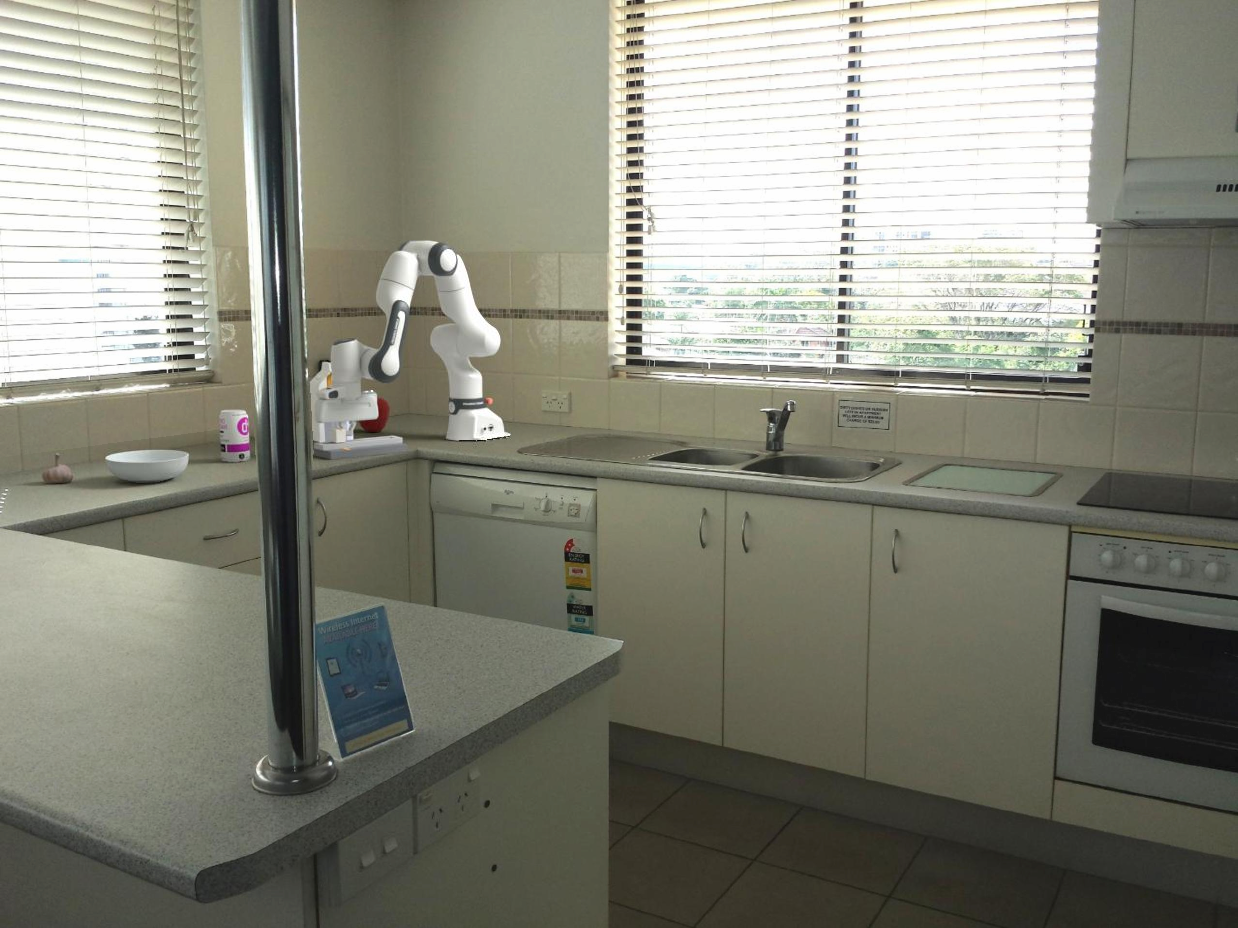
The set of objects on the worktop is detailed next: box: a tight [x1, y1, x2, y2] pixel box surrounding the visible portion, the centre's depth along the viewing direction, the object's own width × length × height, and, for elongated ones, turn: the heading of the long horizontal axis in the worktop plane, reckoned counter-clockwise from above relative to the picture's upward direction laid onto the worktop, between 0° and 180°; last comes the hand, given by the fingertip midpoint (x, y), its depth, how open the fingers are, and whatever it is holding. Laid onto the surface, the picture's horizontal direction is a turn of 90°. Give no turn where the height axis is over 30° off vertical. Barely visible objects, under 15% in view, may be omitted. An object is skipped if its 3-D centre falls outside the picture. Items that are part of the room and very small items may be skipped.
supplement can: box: [218, 409, 251, 463], centre depth 338 cm, size 8×8×15 cm
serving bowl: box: [104, 449, 190, 484], centre depth 305 cm, size 21×21×7 cm
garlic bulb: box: [41, 453, 74, 484], centre depth 301 cm, size 8×7×8 cm
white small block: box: [329, 427, 346, 444], centre depth 349 cm, size 3×5×6 cm, turn 40°
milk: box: [309, 361, 332, 443], centre depth 384 cm, size 12×12×26 cm
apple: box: [358, 396, 391, 433], centre depth 403 cm, size 12×12×13 cm
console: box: [312, 435, 408, 460], centre depth 355 cm, size 27×14×4 cm, turn 130°
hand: (347, 435), depth 351 cm, fingers closed
